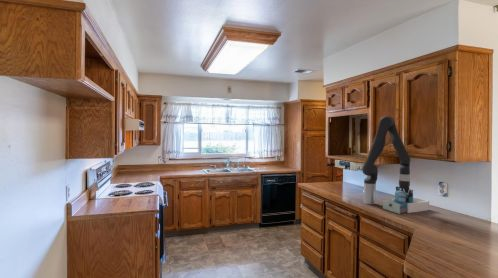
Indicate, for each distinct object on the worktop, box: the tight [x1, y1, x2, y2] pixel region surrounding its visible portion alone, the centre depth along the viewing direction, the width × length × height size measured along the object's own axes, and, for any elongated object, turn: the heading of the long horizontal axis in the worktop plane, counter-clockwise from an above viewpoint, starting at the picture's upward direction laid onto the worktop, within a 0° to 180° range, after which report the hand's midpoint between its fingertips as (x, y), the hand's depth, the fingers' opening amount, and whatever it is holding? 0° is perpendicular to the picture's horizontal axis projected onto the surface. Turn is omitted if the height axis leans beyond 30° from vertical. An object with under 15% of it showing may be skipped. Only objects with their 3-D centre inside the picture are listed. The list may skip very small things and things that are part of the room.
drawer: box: [382, 199, 407, 215], centre depth 225 cm, size 15×23×7 cm, turn 111°
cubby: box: [391, 196, 430, 214], centre depth 229 cm, size 15×22×7 cm
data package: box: [394, 190, 414, 207], centre depth 226 cm, size 12×4×12 cm, turn 91°
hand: (403, 201), depth 226 cm, fingers closed on data package, 5 cm apart
